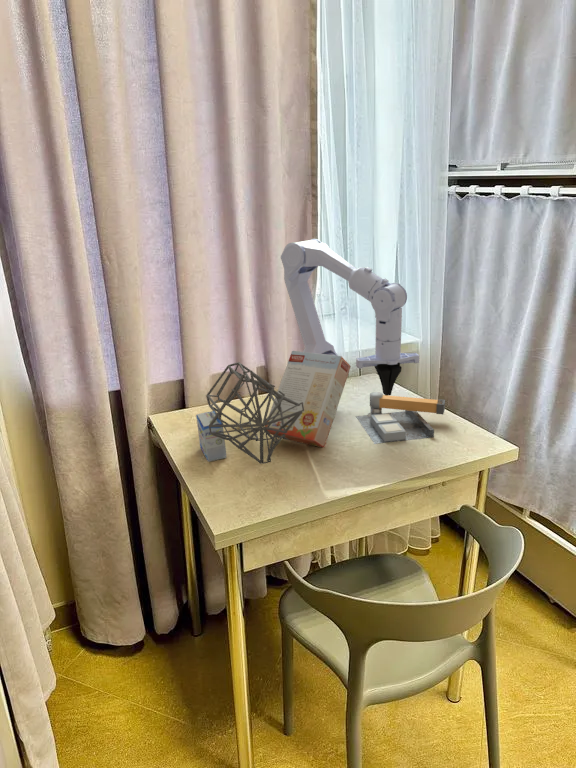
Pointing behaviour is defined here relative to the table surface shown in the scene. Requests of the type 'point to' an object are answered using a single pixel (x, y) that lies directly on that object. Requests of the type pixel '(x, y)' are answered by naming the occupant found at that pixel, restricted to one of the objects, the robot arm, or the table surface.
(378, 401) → the swing bar
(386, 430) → the module
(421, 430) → the tray
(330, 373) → the cracker box
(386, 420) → the block
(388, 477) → the table surface
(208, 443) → the medicine box
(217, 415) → the geometric lantern
